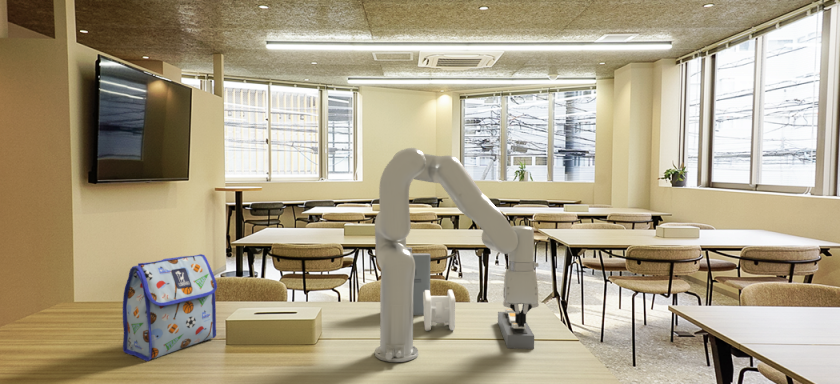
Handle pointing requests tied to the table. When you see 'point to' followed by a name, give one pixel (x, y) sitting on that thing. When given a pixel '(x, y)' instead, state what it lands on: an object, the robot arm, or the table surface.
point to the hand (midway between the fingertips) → (520, 325)
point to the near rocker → (517, 326)
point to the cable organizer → (439, 309)
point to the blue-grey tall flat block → (420, 280)
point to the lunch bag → (168, 306)
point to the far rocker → (509, 311)
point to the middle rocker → (511, 317)
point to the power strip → (515, 333)
